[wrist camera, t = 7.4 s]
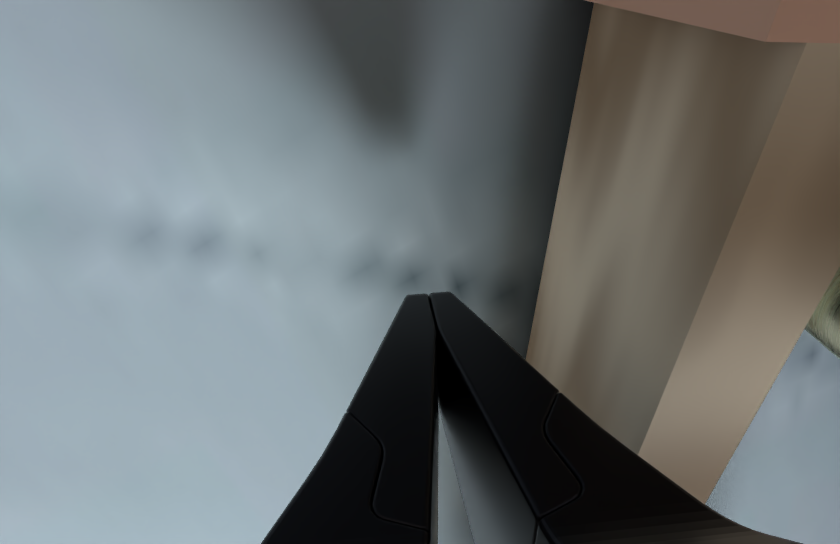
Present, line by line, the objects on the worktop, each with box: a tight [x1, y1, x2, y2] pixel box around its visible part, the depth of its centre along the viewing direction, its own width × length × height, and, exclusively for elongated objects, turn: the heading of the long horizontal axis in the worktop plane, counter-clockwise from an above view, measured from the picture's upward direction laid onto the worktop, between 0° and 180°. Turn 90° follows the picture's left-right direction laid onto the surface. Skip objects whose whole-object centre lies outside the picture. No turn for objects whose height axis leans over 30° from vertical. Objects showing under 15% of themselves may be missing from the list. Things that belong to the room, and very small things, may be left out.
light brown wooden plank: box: [526, 0, 840, 504], centre depth 10 cm, size 17×2×5 cm, turn 178°
